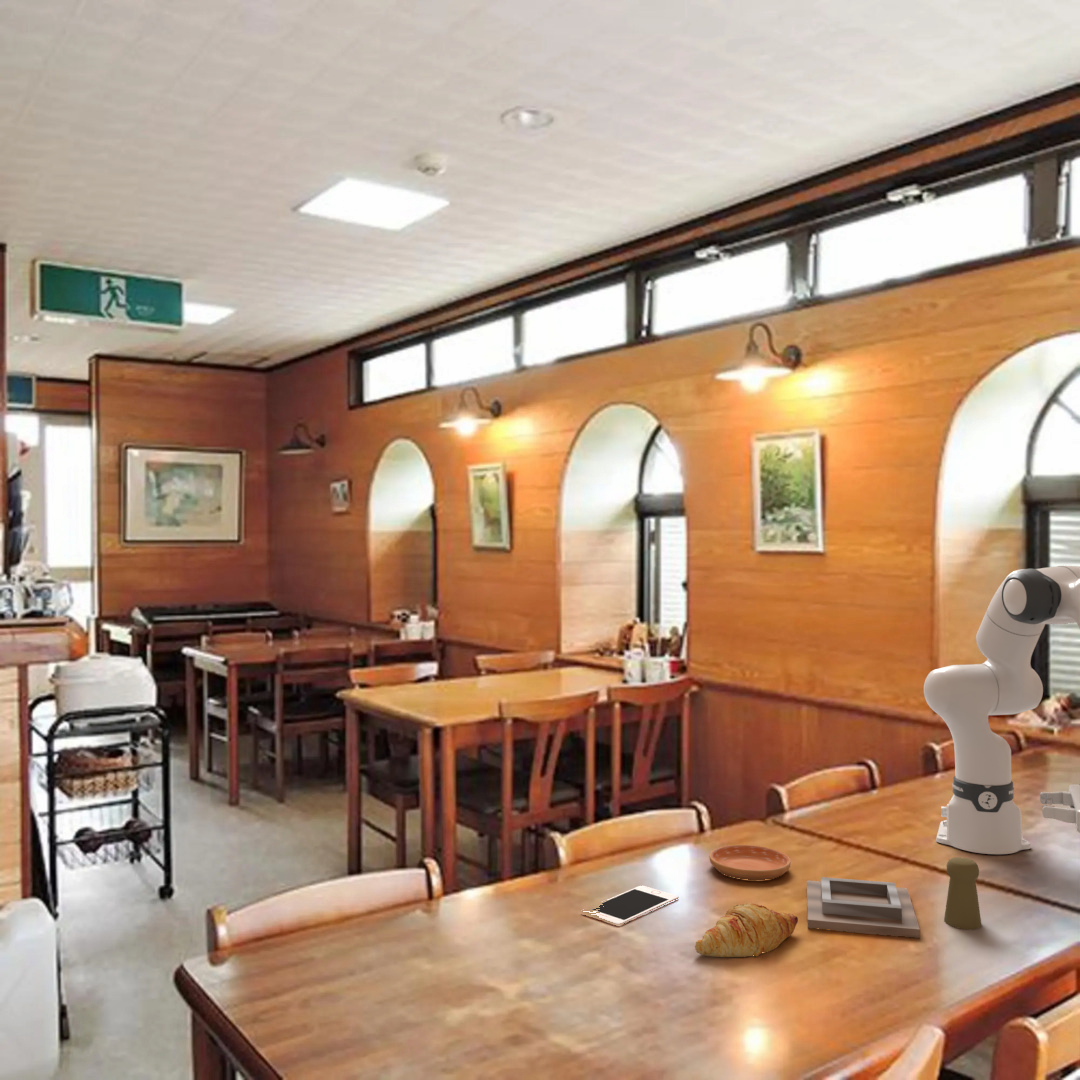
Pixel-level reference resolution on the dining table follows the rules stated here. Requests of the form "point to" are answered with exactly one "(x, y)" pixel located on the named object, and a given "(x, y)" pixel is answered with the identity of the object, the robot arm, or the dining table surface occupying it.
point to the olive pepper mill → (962, 894)
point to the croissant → (746, 932)
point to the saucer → (749, 862)
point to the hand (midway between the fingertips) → (1041, 804)
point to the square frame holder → (861, 907)
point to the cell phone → (632, 904)
